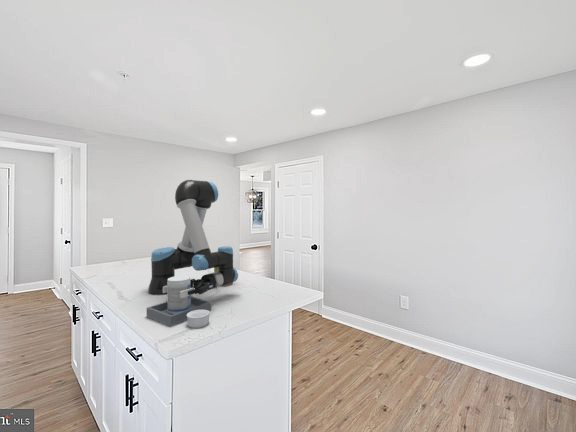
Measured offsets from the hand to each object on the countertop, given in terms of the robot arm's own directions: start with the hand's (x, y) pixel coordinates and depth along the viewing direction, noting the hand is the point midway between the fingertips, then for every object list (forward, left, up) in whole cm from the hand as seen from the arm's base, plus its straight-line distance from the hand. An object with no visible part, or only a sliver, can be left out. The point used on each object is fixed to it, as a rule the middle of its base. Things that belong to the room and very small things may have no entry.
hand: (171, 292), depth 118 cm
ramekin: (+15, +2, -11) cm, 19 cm away
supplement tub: (0, +4, -10) cm, 10 cm away
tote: (0, +4, -11) cm, 11 cm away
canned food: (-19, +48, -11) cm, 53 cm away
